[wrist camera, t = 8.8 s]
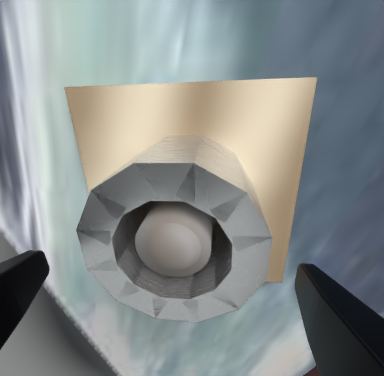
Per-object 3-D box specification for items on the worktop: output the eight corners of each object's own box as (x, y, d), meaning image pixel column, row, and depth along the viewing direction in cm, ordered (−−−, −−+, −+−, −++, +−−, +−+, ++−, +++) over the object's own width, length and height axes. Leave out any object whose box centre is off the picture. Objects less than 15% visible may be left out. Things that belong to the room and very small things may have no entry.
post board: (308, 78, 11) (405, 62, 5) (278, 271, 15) (311, 370, 10) (75, 87, 12) (-46, 82, 6) (113, 262, 17) (61, 344, 11)
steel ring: (246, 249, 14) (260, 327, 9) (137, 244, 14) (99, 313, 10) (255, 134, 11) (282, 162, 6) (120, 135, 12) (57, 162, 7)
